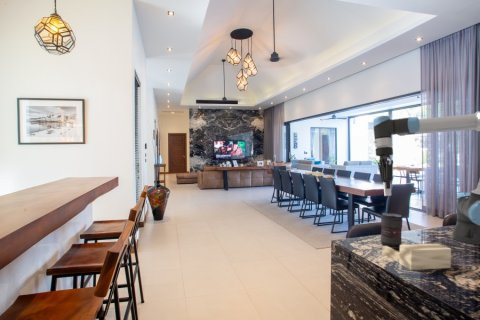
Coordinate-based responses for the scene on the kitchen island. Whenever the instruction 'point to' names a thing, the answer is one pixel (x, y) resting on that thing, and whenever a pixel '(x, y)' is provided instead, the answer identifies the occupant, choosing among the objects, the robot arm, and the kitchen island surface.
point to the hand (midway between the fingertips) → (387, 195)
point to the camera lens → (391, 230)
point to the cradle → (421, 256)
